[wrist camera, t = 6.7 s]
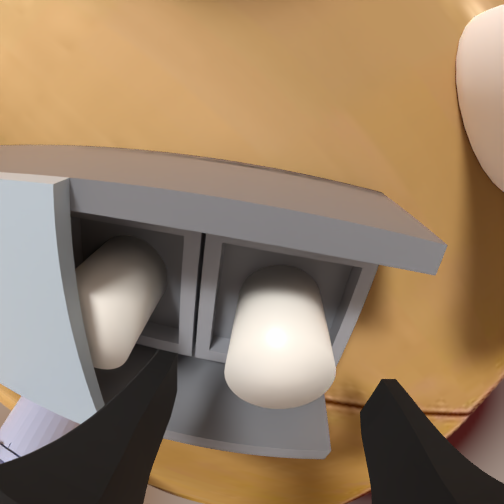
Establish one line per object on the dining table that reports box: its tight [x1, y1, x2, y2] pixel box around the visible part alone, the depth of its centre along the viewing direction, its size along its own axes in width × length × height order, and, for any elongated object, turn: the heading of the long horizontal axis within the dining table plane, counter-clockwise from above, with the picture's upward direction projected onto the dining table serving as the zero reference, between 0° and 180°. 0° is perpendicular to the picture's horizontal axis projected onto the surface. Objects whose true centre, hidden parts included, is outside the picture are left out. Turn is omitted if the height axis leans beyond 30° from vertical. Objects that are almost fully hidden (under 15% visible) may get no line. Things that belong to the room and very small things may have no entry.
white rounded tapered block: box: [75, 235, 167, 369], centre depth 12 cm, size 4×4×5 cm
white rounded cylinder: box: [224, 265, 336, 409], centre depth 12 cm, size 4×4×5 cm
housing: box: [0, 145, 447, 459], centre depth 13 cm, size 12×26×6 cm, turn 81°
